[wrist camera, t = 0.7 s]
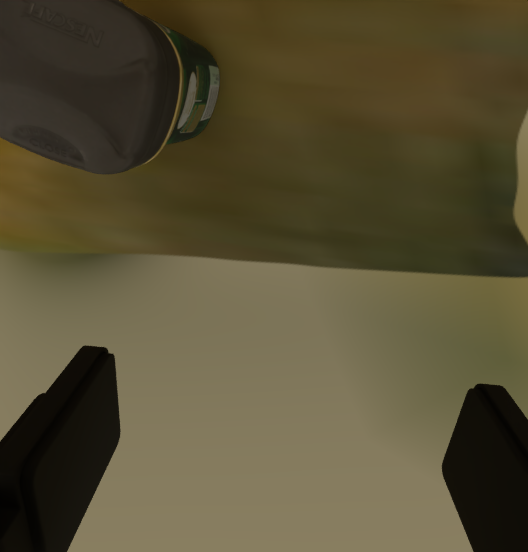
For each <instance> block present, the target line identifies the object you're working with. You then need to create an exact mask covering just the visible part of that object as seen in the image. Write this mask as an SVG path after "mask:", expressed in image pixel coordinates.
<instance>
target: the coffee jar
mask: <svg viewBox="0 0 528 552" xmlns="http://www.w3.org/2000/svg"><path fill="white" fill-rule="evenodd" d="M219 83H220V76H219V69H218V66H217V63H216V61H215V59H214V58H213V56H212V55H211V54H210V52H208V51H207V50H206V49H205V48H204V47H202V46H201V45H199V44H198V43H196V42H194V41H193V40H191V39H189V38H187V37H185V36H184V35H182V34H180V33H178V32H176V31H174V30H172V29H170V28H168V27H165V26H163V25H161V24H159V23H157V22H155V21H153V20H151V19H150V18H148V17H146V16H144V15H142V14H140V13H138V12H136V11H134V10H132V9H131V8H129V7H127V6H125V5H124V4H123V3H122V2H120V1H118V0H0V137H1V138H3V139H5V140H7V141H9V142H10V143H13V144H15V145H18V146H20V147H22V148H24V149H26V150H29V151H31V152H33V153H36V154H38V155H41V156H43V157H45V158H48V159H51V160H54V161H57V162H59V163H62V164H66V165H69V166H72V167H75V168H79V169H82V170H85V171H88V172H92V173H96V174H115V173H120V172H124V171H127V170H129V169H131V168H134V167H138V166H141V165H143V164H146V163H148V162H149V161H151V160H152V159H153V158H155V157H156V156H157V155H158V154H159V153H160V152H161V150H162V149H163V148H164V146H165V145H166V144H170V143H176V142H180V141H184V140H187V139H190V138H193V137H195V136H196V135H198V134H199V133H201V132H202V131H203V130H204V128H205V127H206V125H207V123H208V121H209V119H210V117H211V115H212V112H213V110H214V107H215V104H216V100H217V96H218V90H219Z"/></svg>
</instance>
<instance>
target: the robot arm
mask: <svg viewBox="0 0 528 552" xmlns="http://www.w3.org/2000/svg"><path fill="white" fill-rule="evenodd" d="M119 438H120V419H119V406H118V393H117V381H116V368H115V358H114V355H113V354H110V353H108V350H107V348H104V347H95V346H83V347H82V348H81V349H80V350H79V351H78V353H77V354H76V355H75V356H74V358H73V359H72V360H71V361H70V363H69V364H68V365H67V367H66V368H65V369H64V370H63V372H62V373H61V374H60V375H59V376H58V378H57V379H56V380H55V382H54V383H53V384H52V385H51V387H50V388H49V389H48V390H47V392H46V393H42V394H40V395H38V396H37V397H36V399H34V400H33V402H32V403H31V404H30V405H29V407H28V408H27V409H26V410H25V412H24V413H23V414H22V415H21V417H20V418H19V419H18V420H17V421H16V423H15V424H14V425H13V426H12V428H11V429H10V430H9V431H8V433H7V434H6V435H5V436H4V438H3V439H2V440H1V441H0V552H67V550H68V548H69V546H70V544H71V542H72V540H73V538H74V536H75V533H76V531H77V529H78V527H79V525H80V523H81V521H82V518H83V517H84V515H85V512H86V510H87V508H88V506H89V504H90V502H91V500H92V498H93V495H94V493H95V491H96V489H97V487H98V485H99V483H100V481H101V479H102V477H103V474H104V472H105V470H106V468H107V466H108V464H109V462H110V460H111V458H112V455H113V453H114V451H115V449H116V447H117V445H118V442H119ZM442 472H443V477H444V480H445V482H446V485H447V487H448V490H449V492H450V494H451V497H452V500H453V502H454V505H455V507H456V510H457V512H458V514H459V517H460V519H461V522H462V524H463V527H464V529H465V532H466V534H467V537H468V539H469V542H470V544H471V546H472V549H473V551H474V552H528V419H527V418H526V417H525V415H524V414H523V412H522V411H521V410H520V409H519V407H518V406H517V404H516V403H515V401H514V400H513V399H512V397H511V396H510V395H509V393H508V392H507V391H506V389H505V388H503V386H500V385H489V384H477V385H476V386H475V387H474V389H469V390H468V392H467V394H466V397H465V400H464V403H463V406H462V409H461V411H460V415H459V417H458V420H457V423H456V426H455V428H454V431H453V434H452V437H451V440H450V443H449V446H448V448H447V451H446V454H445V457H444V460H443V463H442Z"/></svg>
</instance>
